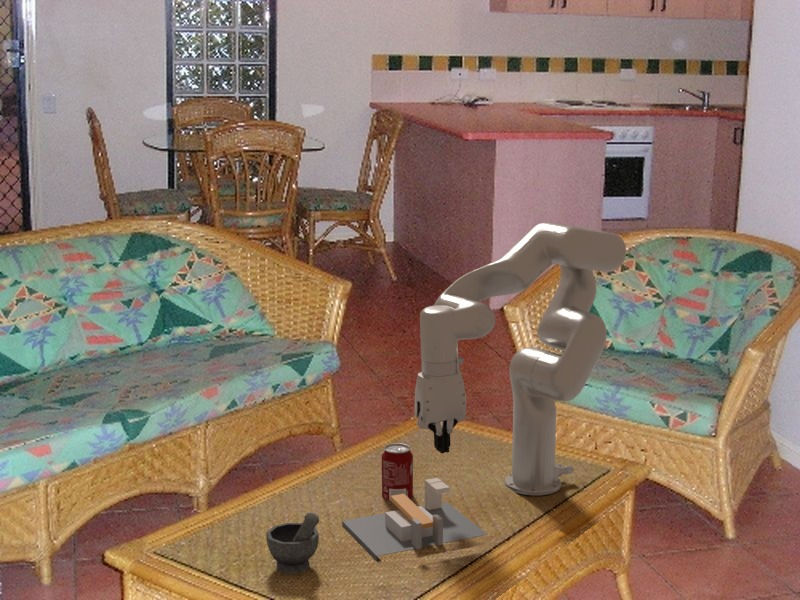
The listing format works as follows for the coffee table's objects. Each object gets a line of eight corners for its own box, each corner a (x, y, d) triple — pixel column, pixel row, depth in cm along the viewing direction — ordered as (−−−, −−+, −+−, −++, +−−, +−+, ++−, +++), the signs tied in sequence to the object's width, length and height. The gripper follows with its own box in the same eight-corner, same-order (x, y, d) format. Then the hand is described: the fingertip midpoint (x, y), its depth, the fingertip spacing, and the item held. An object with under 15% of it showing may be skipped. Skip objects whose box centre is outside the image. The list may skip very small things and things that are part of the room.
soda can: (409, 507, 247) (409, 454, 244) (378, 504, 248) (378, 452, 245) (415, 495, 253) (415, 443, 250) (385, 493, 254) (385, 441, 252)
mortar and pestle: (256, 568, 218) (255, 508, 216) (291, 551, 225) (289, 493, 223) (300, 585, 211) (299, 524, 209) (334, 567, 219) (333, 508, 216)
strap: (403, 498, 238) (403, 493, 238) (433, 526, 226) (433, 522, 226) (390, 500, 237) (390, 495, 237) (419, 529, 225) (419, 524, 224)
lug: (437, 504, 245) (437, 477, 244) (449, 513, 240) (449, 486, 239) (424, 506, 244) (424, 479, 242) (436, 516, 239) (436, 489, 237)
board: (446, 507, 247) (447, 478, 245) (488, 540, 230) (489, 510, 229) (342, 526, 237) (341, 496, 235) (378, 562, 220) (377, 531, 219)
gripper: (463, 356, 241) (466, 438, 246) (398, 367, 235) (402, 451, 240) (481, 365, 235) (482, 450, 239) (414, 377, 229) (417, 464, 233)
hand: (442, 450), depth 240 cm, fingers closed
